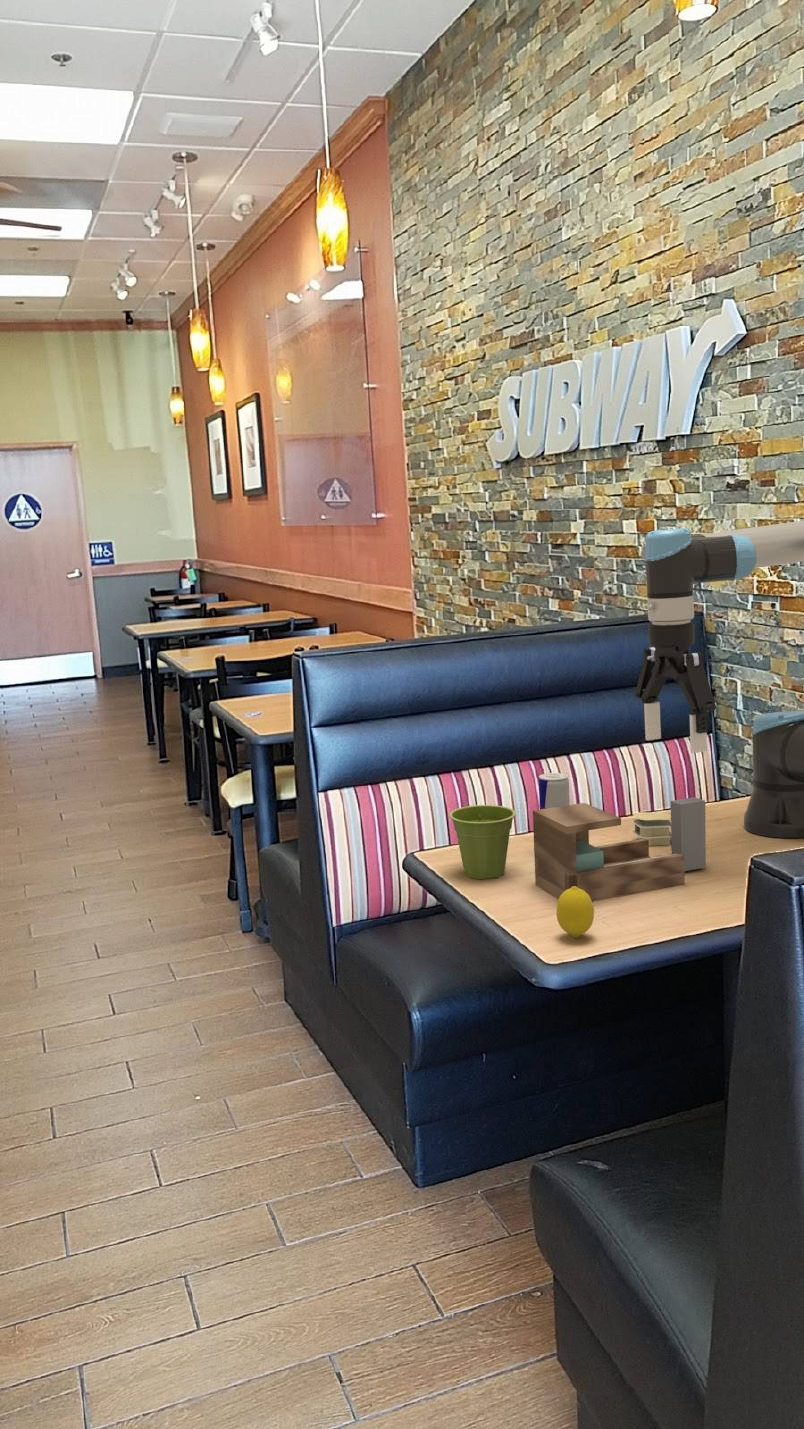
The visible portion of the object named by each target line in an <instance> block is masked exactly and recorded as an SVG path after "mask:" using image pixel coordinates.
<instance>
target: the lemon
mask: <svg viewBox="0 0 804 1429" xmlns="http://www.w3.org/2000/svg"><path fill="white" fill-rule="evenodd" d="M557 899H558V898H557ZM556 904H557V905H556V912H555V913H556V919H557V923H558V925H559V927H560V928H561V929H562V930H563V931H564V932H565V933H567V934H570V935H571V936H572V937H573V938H574V939H575V938H576V939H577V938H579V937H580V936H581V935H582V934H585V933H586V932H588V931H589V930H590V928H591V927H592V925H593V922H594V918H595V909H594V904H593V901H592V900H591V898H590V896H589V895H588V894H587V893H586V892H585V891H584V890H582V889H579V888H577V887H576V886H572V887H571V888H570V889H567V890H566V891H564V892H563V893H562V894H561V895H560V897H559V899H558V900H557V903H556Z"/></svg>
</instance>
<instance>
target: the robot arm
mask: <svg viewBox="0 0 804 1429" xmlns="http://www.w3.org/2000/svg"><path fill="white" fill-rule="evenodd" d="M644 562H645V579H646V594H647V596H646V597H647V606H646V607H647V608H646V609H647V618H648V621H649V622H651V623H650V624H649V626H648V627H647V629H648V630H647V631H648V644H649V645H650V646H651V647H645V648H644V649H643V661H642V665H641V667H640V668H641V670H640V673H639V677H638V681H637V684H636V690H635V694H634V695H635V697H636V699H640V700H641V703H643V718H644V734H645V738H644V739H645V740H646V741H654V740H659V739H662V728H661V705H660V704H661V702H660V700H661V699H660V698H659V695H660V693H661V691H662V690H663V687H664V685H665V684H666V681H667V679H668V678H670V679H673V680H674V681H675V682H677V683H678V684H679V687H680V689H681V691H682V693H683V695H684V697H685V700H686V701H687V703H688V705H689V708H691V710H690V712H689V733H690V734H689V737H690V738H689V740H690V742H689V743H690V753H691V754H698V753H701V752H702V753H703V752H707V751H708V713H709V712H712V711H715V710H716V709H717V705H716V702H715V699H714V696H713V695H714V694H713V693H712V690H711V686H710V683H709V680H708V677H707V674H706V670H705V668H704V661H703V660H704V659H703V653H702V652H692V653H690V646H692V645H693V644H694V643H695V641H696V640H695V623H693V622H692V621H691V620H693V619H694V618H695V607H694V606H695V605H694V603H695V602H694V585H697V584H702V583H715V582H724V581H725V582H726V581H732V582H734V581H736V580H739V579H740V580H742V579H745V578H748V577H749V576H750V575H751V574H752V573H753V572H754V570H755V569H758V568H759V569H760V568H765V567H772V566H781V565H786V564H794V563H795V564H796V563H801V562H804V520H799V521H790V522H783V523H776V524H767V525H762V526H761V525H760V526H753V527H746V528H738V529H731V530H724V531H718V532H717V531H716V532H711V533H709V532H708V533H701V534H699V535H697V534H696V535H692V532H691V530H690V529H688V528H686V527H685V528H671V529H670V528H669V529H659V530H652V531H650V532H648V533H647V534H646V536H645V544H644ZM752 726H753V727H752V732H751V737H752V767H753V768H752V777H753V778H752V780H753V781H752V786H753V787H752V791H751V794H750V798H749V801H748V804H747V808H746V811H745V812H744V816H743V827H744V829H745V830H746V831H748V832H750V833H753V834H756V835H759V836H766V837H771V838H785V839H786V838H787V839H788V838H789V839H792V838H793V839H795V838H796V839H798V838H804V710H788V711H785V710H784V711H777V712H775V711H774V712H767V713H762V714H759V715H757V716H756V717H755V718H754V720H753V725H752Z"/></svg>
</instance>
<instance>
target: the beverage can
mask: <svg viewBox="0 0 804 1429" xmlns="http://www.w3.org/2000/svg"><path fill="white" fill-rule="evenodd" d="M538 779H539V780H538V798H539V800H538V802H539V810H540V809H547V808H553V807H560V806H567V805H571V803H570V801H571V800H570V780H569V775H568V774H566V773H560V772H547V773H543V774H540V775H539V776H538Z"/></svg>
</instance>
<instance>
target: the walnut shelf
mask: <svg viewBox="0 0 804 1429" xmlns="http://www.w3.org/2000/svg"><path fill="white" fill-rule="evenodd" d="M532 825H533V827H532V828H533V849H534V852H533V853H534V855H533V856H534V877H535V878H534V879H535V881H534V882H535V886H537V887H538V888H540V889H542V890H543V891H545V892H547V893H548V894H550V895H552V896H553V897H555V898H556V899H559V897H560V895H561V894H562V893H563V892H564V891H566V890H567V889H570V888H571V887H572V886H576V887H577V888H579V889H582V890H584V891H585V892H586V893H587V894H588V895H589V896H590V898H591V900H592V902H594V901H599V900H600V901H601V900H606V899H610V898H617V897H622V896H626V895H627V896H628V895H632V894H638V893H643V892H649V891H653V890H660V889H664V888H670V887H675V886H680V885H685V871H684V855H682V854H675V855H672V854H669V856H667V855H663V856H664V857H661V856H657V857H658V858H655V857H653V856H652V857H651V856H650V846H649V840H647V839H640V838H639V839H633V840H627V841H622V842H615V843H610V844H609V843H608V844H603V845H599V846H595V847H596V848H598V849H601V850H603V858H604V866H606V867H601V868H595V869H589V870H583V871H578V872H577V856H576V842H578V841H584V842H586V843H588V844H590V836H589V834H590V833H589V832H590V831H593V830H600V829H605V828H607V829H608V828H612V827H618V826H622V817H620V816H617V815H614V814H612V813H610V812H608V811H605V810H603V809H600V808H598V807H596V806H594V805H591V804H588V803H586V802H582V803H575V804H574V803H573V804H570V805H567V806H560V807H553V808H547V809H540V808H539V809H534V810H532ZM650 858H652V859H650ZM644 859H646V860H644ZM638 860H641V861H638ZM632 861H635V862H632ZM627 862H629V863H627ZM621 863H623V864H621ZM615 864H618V865H615ZM610 865H612V866H610Z"/></svg>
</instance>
